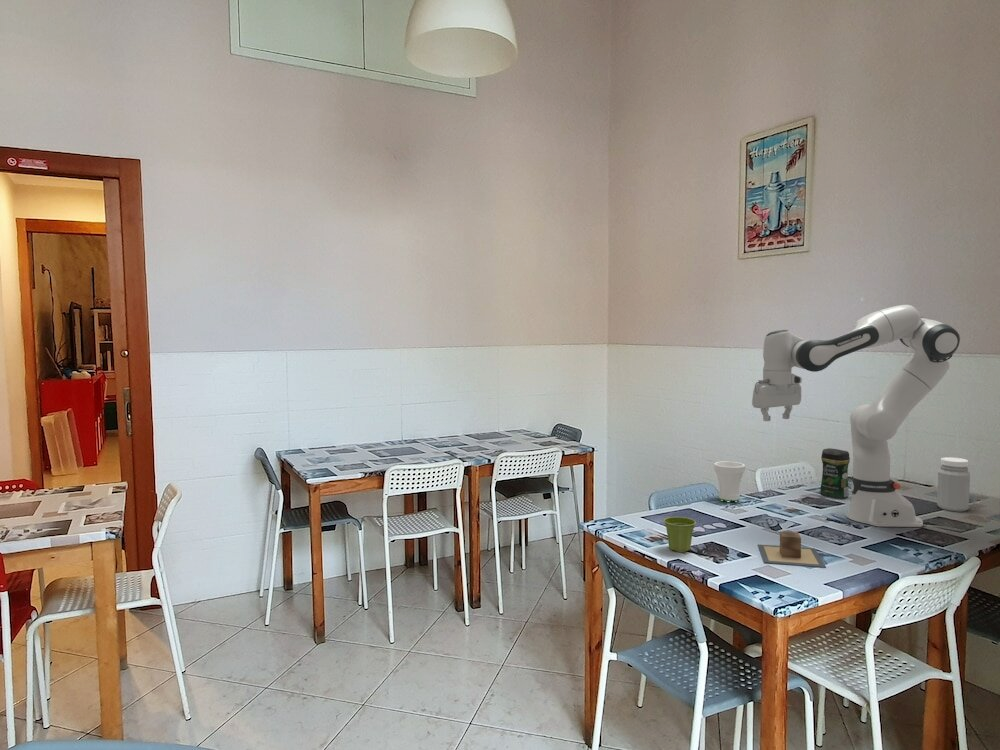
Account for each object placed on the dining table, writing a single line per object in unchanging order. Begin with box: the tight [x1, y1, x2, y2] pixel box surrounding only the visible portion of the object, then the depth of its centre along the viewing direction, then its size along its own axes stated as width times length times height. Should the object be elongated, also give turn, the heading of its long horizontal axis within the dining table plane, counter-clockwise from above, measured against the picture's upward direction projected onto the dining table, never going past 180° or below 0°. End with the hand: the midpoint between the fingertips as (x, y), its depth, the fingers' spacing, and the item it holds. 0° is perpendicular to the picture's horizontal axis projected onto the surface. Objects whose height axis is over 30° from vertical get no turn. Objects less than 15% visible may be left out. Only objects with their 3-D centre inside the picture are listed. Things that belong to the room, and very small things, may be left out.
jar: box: [936, 456, 971, 513], centre depth 241 cm, size 10×10×18 cm
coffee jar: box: [819, 447, 851, 499], centre depth 260 cm, size 10×8×19 cm
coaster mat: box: [757, 543, 827, 569], centre depth 194 cm, size 16×16×1 cm
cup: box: [713, 460, 746, 502], centre depth 256 cm, size 11×11×14 cm
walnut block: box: [779, 530, 802, 558], centre depth 194 cm, size 5×5×6 cm
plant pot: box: [663, 516, 697, 553], centre depth 201 cm, size 9×9×9 cm
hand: (776, 419), depth 224 cm, fingers open, 8 cm apart
